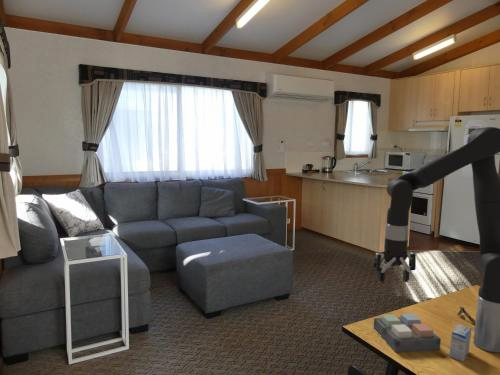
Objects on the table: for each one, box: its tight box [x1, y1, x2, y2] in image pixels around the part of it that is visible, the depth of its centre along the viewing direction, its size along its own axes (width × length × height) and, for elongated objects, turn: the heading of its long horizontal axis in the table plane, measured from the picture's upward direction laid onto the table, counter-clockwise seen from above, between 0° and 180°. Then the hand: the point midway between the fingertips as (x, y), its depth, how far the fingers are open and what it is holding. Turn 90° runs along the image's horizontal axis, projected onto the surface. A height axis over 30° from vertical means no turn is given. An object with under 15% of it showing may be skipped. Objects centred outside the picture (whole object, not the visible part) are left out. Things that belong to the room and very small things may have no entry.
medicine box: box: [448, 323, 472, 362], centre depth 128 cm, size 8×4×9 cm, turn 141°
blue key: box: [400, 313, 421, 327], centre depth 141 cm, size 5×5×2 cm
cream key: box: [391, 324, 412, 339], centre depth 132 cm, size 5×5×2 cm
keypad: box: [373, 316, 442, 353], centre depth 137 cm, size 16×16×4 cm
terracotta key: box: [412, 323, 434, 338], centre depth 134 cm, size 5×5×2 cm
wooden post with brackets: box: [457, 306, 476, 326], centre depth 153 cm, size 2×8×4 cm, turn 22°
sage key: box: [380, 313, 401, 327], centre depth 140 cm, size 5×5×2 cm
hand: (393, 281), depth 136 cm, fingers open, 8 cm apart
